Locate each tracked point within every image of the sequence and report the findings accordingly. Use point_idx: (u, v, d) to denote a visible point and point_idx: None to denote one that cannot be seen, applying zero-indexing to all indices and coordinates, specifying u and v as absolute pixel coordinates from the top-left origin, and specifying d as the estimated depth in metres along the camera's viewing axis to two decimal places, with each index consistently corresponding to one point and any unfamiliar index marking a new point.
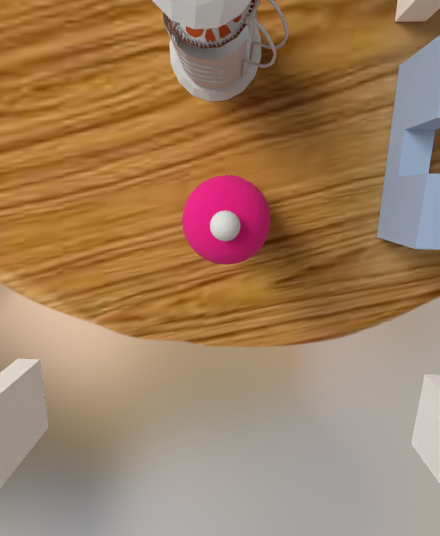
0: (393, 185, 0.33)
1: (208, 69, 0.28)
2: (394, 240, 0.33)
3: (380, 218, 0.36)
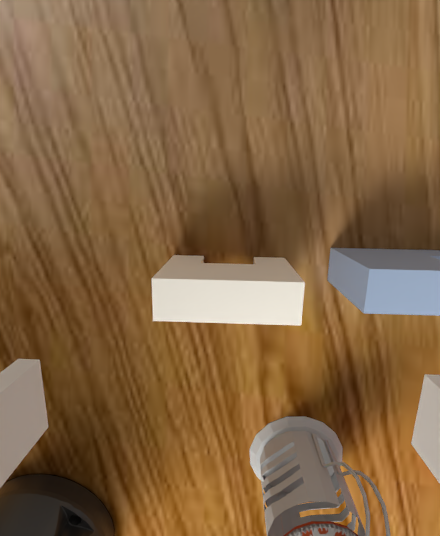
0: None
1: (354, 517, 0.27)
2: None
3: None
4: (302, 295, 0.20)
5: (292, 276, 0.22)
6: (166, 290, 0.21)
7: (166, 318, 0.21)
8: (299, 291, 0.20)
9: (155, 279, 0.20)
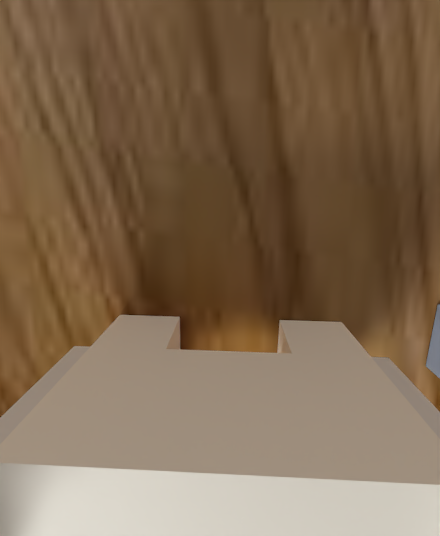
0: None
1: None
2: None
3: None
4: None
5: (412, 431, 0.07)
6: (34, 495, 0.07)
7: None
8: None
9: None
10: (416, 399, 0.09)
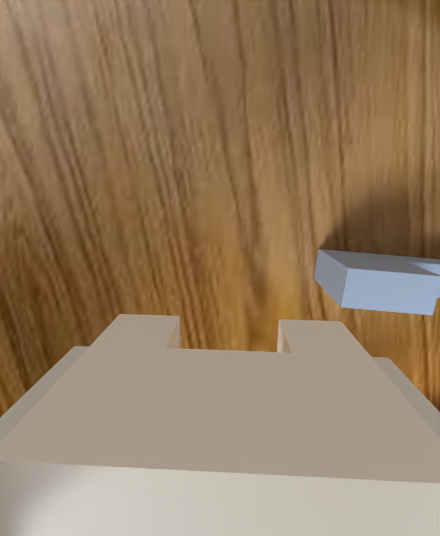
0: None
1: None
2: None
3: None
4: None
5: (411, 430, 0.07)
6: (34, 493, 0.07)
7: None
8: None
9: None
10: (416, 399, 0.09)
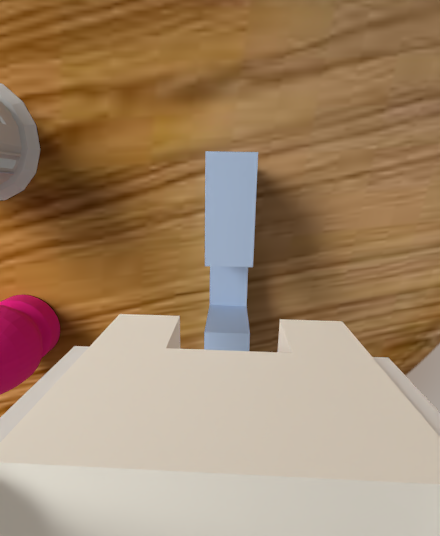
0: None
1: None
2: None
3: None
4: None
5: (413, 431, 0.07)
6: (33, 495, 0.07)
7: None
8: None
9: None
10: (416, 399, 0.09)
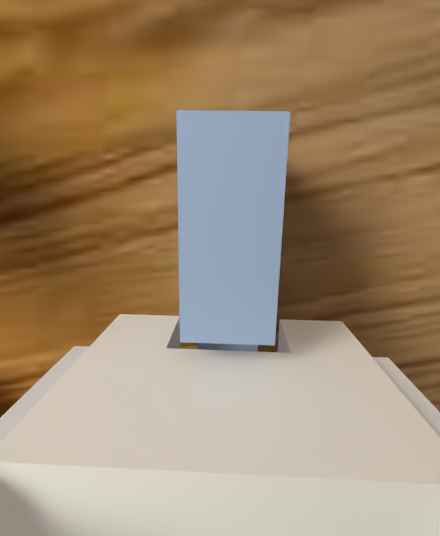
0: None
1: None
2: None
3: None
4: None
5: (413, 430, 0.07)
6: (33, 495, 0.07)
7: None
8: None
9: None
10: (416, 399, 0.09)
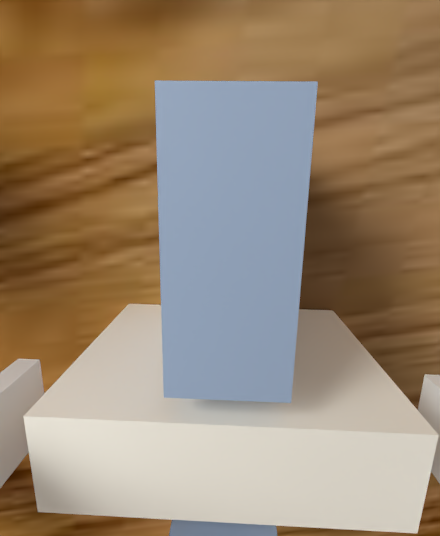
0: None
1: None
2: None
3: None
4: (428, 466, 0.08)
5: (387, 395, 0.09)
6: (65, 445, 0.08)
7: (70, 507, 0.08)
8: (421, 456, 0.07)
9: (34, 418, 0.08)
10: None
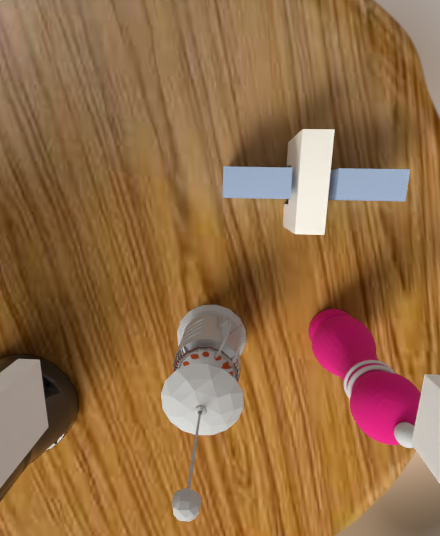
0: None
1: (239, 362, 0.38)
2: None
3: None
4: (312, 129, 0.29)
5: (299, 137, 0.31)
6: (303, 224, 0.32)
7: (323, 225, 0.32)
8: (309, 132, 0.30)
9: (295, 231, 0.32)
10: None
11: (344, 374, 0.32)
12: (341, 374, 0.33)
